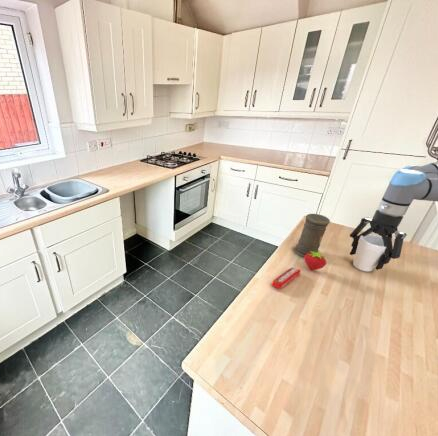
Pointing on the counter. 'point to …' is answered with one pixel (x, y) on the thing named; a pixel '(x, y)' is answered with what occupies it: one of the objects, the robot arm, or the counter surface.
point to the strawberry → (314, 261)
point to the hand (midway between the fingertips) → (364, 260)
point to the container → (312, 234)
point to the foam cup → (368, 252)
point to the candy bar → (285, 278)
